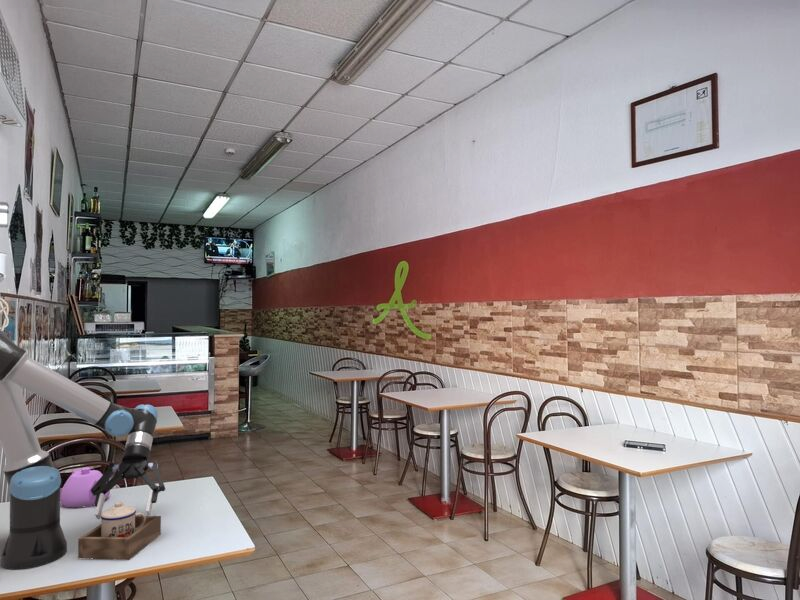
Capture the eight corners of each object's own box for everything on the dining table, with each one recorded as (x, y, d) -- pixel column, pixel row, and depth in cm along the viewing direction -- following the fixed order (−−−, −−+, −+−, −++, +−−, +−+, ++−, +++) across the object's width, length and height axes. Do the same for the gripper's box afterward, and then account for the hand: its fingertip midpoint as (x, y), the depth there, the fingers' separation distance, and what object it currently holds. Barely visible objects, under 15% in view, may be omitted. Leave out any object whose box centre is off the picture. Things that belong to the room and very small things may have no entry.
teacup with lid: (106, 553, 151) (106, 510, 151) (96, 543, 157) (96, 502, 158) (151, 540, 159) (151, 500, 160) (139, 531, 166) (140, 493, 166)
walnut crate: (78, 558, 150) (78, 538, 150) (114, 533, 167) (114, 515, 167) (129, 559, 149) (129, 539, 149) (160, 534, 166) (160, 515, 167)
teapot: (49, 501, 198) (49, 467, 198) (95, 490, 210) (95, 458, 210) (74, 514, 184) (74, 478, 184) (121, 502, 196) (121, 468, 197)
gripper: (181, 454, 178) (170, 517, 163) (97, 458, 173) (79, 524, 158) (177, 441, 173) (166, 505, 158) (91, 445, 168) (72, 512, 153)
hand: (122, 515), depth 158 cm, fingers open, 13 cm apart
